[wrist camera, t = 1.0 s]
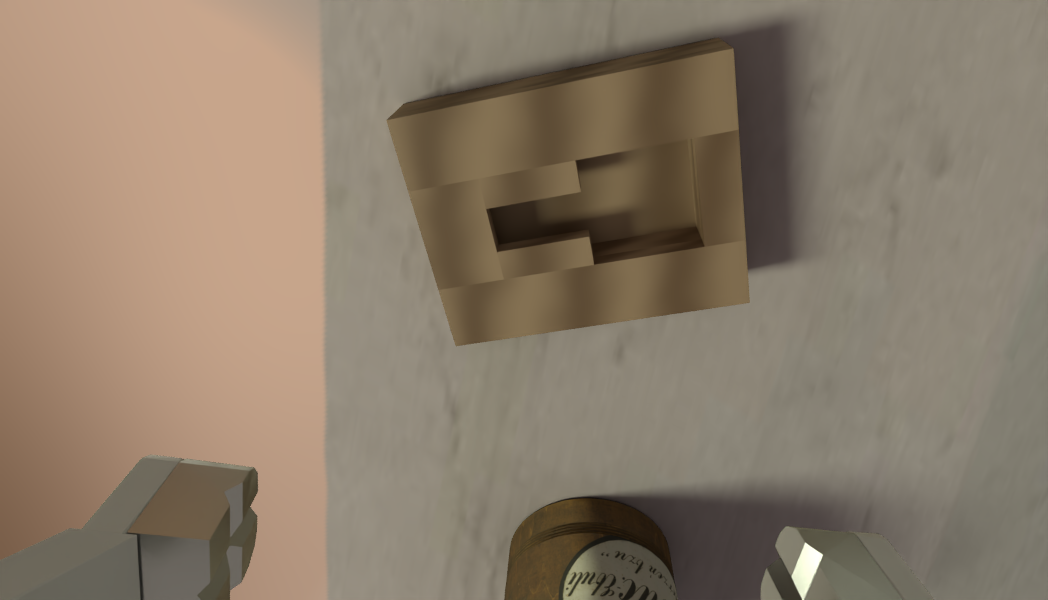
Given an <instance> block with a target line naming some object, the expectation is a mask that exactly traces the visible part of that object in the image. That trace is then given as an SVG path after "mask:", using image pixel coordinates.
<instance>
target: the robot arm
mask: <svg viewBox="0 0 1048 600" xmlns="http://www.w3.org/2000/svg"><path fill="white" fill-rule="evenodd" d="M257 492H258V473H257V471H256V470H255V468H254V467H246V466H238V465H231V464H223V463H216V462H207V461H200V460H192V459H182V458H174V457H166V456H158V455H148V456H146V457H144V458H142V459H141V460H140V461H139V462H138V463H137V464H136V465H135V467H134V468H133V469H132V470H131V471H130V472H129V474H128V475H127V476H126V477H125V478H124V480H123V481H122V482H121V483H120V484H119V486H118V487H117V488H116V489H115V490H114V491H113V493H112V494H111V495H110V496H109V497H108V498H107V500H106V501H105V502H104V503H103V504H102V506H101V507H100V508H99V509H98V510H97V512H96V513H95V514H94V515H93V516H92V517H91V518H90V520H89V521H88V522H87V523H86V524H85V526H84V527H83V528H82V529H72V528H70V529H68V530H65V531H63V532H61V533H59V534H56V535H54V536H52V537H50V538H48V539H46V540H44V541H41V542H39V543H37V544H35V545H33V546H30V547H28V548H26V549H24V550H22V551H19V552H17V553H15V554H13V555H11V556H9V557H6V558H4V559H2V560H0V600H230V590H231V589H233V588H234V587H235V586H237V585H238V584H240V583H241V582H242V580H243V578H244V576H245V573H246V571H247V569H248V567H249V563H250V560H251V556H252V553H253V549H254V546H255V539H256V532H257V515H256V514H255V513H254V511H253V510H252V509H251V507H250V506H251V504H252V502H253V500H254V498H255V496H256V494H257ZM775 548H776V550H777V552H778V555H779V557H780V558H779V559H778V560H776V561H775V562H774V563H772V564H771V565H770V566H769V567H767V568H766V571H765V574H764V577H763V580H762V583H761V600H934V599H933V597H932V596H931V595H930V593H929V592H928V591H927V590H926V588H925V587H924V586H923V584H922V583H921V582H920V581H919V579H918V578H917V577H916V576H915V574H914V573H913V572H912V570H911V569H910V568H909V567H908V565H907V564H906V563H905V562H904V560H903V559H902V558H901V556H900V555H899V554H898V553H897V551H896V550H895V549H894V547H893V546H892V545H891V544H890V542H889V541H888V540H887V539H886V538H884V537H882V536H881V535H879V534H875V533H863V532H850V531H847V532H839V531H830V530H820V529H810V528H801V527H791V526H786V527H785V528H784V529H783V530H782V531H781V532H780V534H779V537H778V539H777V542H776V544H775Z"/></svg>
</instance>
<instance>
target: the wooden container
mask: <svg viewBox="0 0 1048 600" xmlns="http://www.w3.org/2000/svg"><path fill="white" fill-rule="evenodd" d="M504 600H678V599H677V592H676V587H675V582H674V576H673V570H672V564H671V558H670V552H669V548H668V544H667V541H666V539H665V537H664V535H663V533H662V532H661V530H660V529H659V528H658V526H657V525H656V524H655V523H654V522H653V521H652V520H651V519H649V518H648V517H647V516H645V515H644V514H643V513H641V512H639V511H637V510H636V509H633V508H631V507H629V506H626V505H624V504H621V503H617V502H614V501H609V500H603V499H593V498H579V499H570V500H565V501H561V502H557V503H554V504H551V505H548V506H546V507H544V508H542V509H540V510H538V511H536V512H534V513H533V514H532V515H530V516H529V517H528V518H526V519H525V520H524V521H523V522H522V523H521V525H520V526H519V527H518V529H517V530H516V532H515V534H514V536H513V538H512V541H511V546H510V553H509V562H508V571H507V581H506V589H505V599H504Z"/></svg>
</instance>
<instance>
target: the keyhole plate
mask: <svg viewBox="0 0 1048 600" xmlns="http://www.w3.org/2000/svg"><path fill="white" fill-rule="evenodd" d="M387 124H388V127H389V130H390V133H391V137H392V140H393V143H394V146H395V150H396V153H397V156H398V159H399V163H400V166H401V169H402V173H403V176H404V179H405V182H406V186H407V189H408V192H409V195H410V199H411V202H412V205H413V208H414V212H415V215H416V218H417V221H418V225H419V228H420V231H421V234H422V238H423V241H424V244H425V247H426V251H427V254H428V257H429V260H430V264H431V267H432V270H433V273H434V277H435V280H436V283H437V286H438V290H439V293H440V296H441V300H442V303H443V306H444V309H445V313H446V316H447V319H448V322H449V326H450V329H451V332H452V335H453V339H454V342H455V345H456V346H460V345H467V344H474V343H480V342H487V341H494V340H501V339H507V338H514V337H521V336H528V335H534V334H541V333H548V332H555V331H561V330H568V329H575V328H582V327H589V326H595V325H602V324H609V323H616V322H622V321H629V320H636V319H643V318H649V317H656V316H663V315H670V314H676V313H683V312H690V311H697V310H703V309H710V308H717V307H724V306H731V305H737V304H744V303H750V300H749V284H748V268H747V252H746V236H745V221H744V205H743V189H742V173H741V158H740V142H739V126H738V110H737V94H736V79H735V63H734V48H732V47H731V46H730V45H728V44H727V43H725V42H724V41H722V40H721V39H719V38H714V39H710V40H705V41H700V42H695V43H691V44H686V45H681V46H676V47H672V48H667V49H662V50H657V51H653V52H648V53H643V54H638V55H634V56H629V57H624V58H619V59H615V60H610V61H605V62H600V63H596V64H591V65H586V66H581V67H577V68H572V69H567V70H563V71H558V72H553V73H548V74H544V75H539V76H534V77H529V78H525V79H520V80H515V81H510V82H506V83H501V84H496V85H491V86H487V87H482V88H477V89H472V90H468V91H463V92H458V93H453V94H449V95H444V96H439V97H434V98H430V99H425V100H420V101H415V102H411V103H406V104H403V105H402V106H401V107H400V108H399V109H398V110H397V111H396V112H395V113H394V114H393V115H391V116H390V117H389V118H388V119H387Z"/></svg>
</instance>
